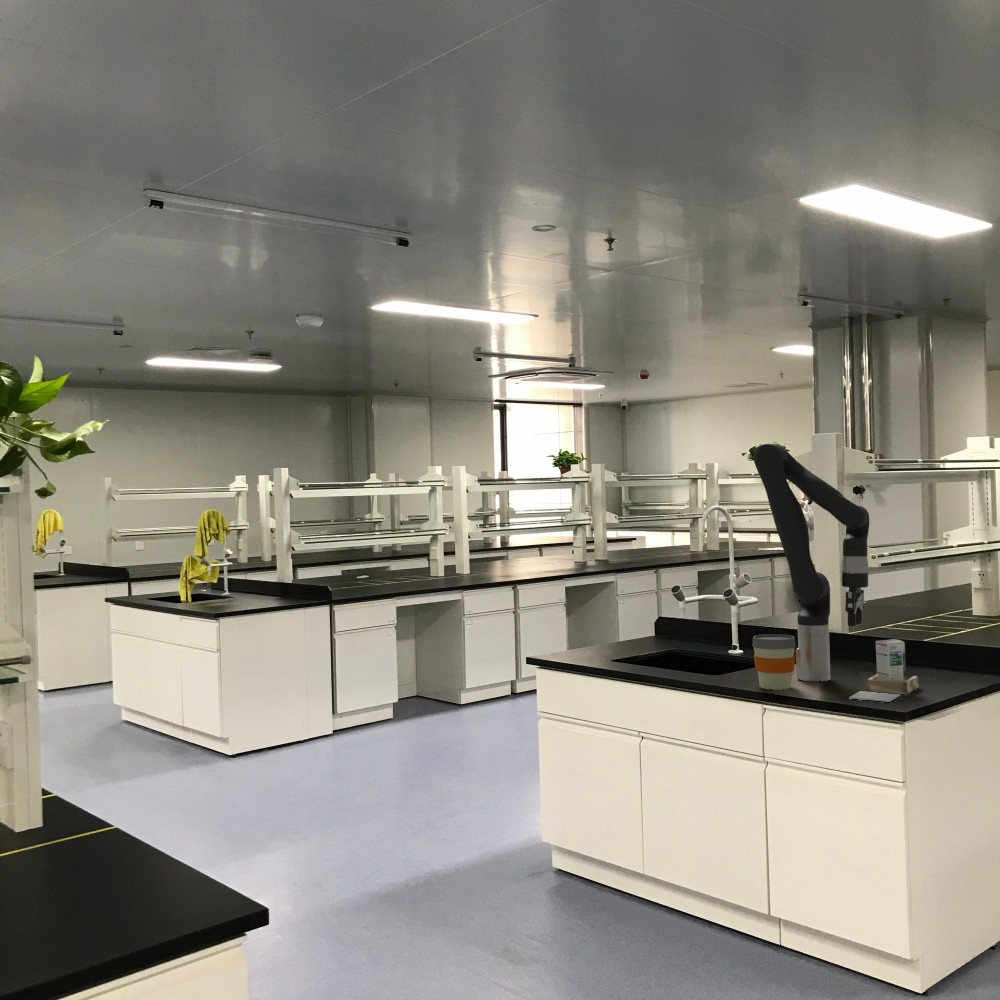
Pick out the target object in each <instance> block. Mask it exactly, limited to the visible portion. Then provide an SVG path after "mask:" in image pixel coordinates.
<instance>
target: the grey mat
mask: <svg viewBox="0 0 1000 1000" xmlns="http://www.w3.org/2000/svg"><path fill="white" fill-rule="evenodd" d="M899 696H900V697H901V695H900V694H888V693H877V692H867V691H866V690H865V691H862V690H860V691H858V692H856V693H854V694H853V695H850V696H849V698H848V699H849V700H852V699H858V700H857V701H862V700H874V701H885V702H891V701H892V700H894V699H896V698H897V697H899ZM900 697H899V698H900ZM897 699H898V698H897ZM897 699H896V700H897ZM894 701H895V700H894ZM891 703H892V702H891Z"/></svg>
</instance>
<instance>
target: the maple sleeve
mask: <svg viewBox="0 0 1000 1000" xmlns="http://www.w3.org/2000/svg"><path fill="white" fill-rule="evenodd" d="M865 681H866V684H865V687H866V692H867V691H874V692H888V693H889V692H890V693H898V694H908V693H910V692H911V691H913V690H914V689H916V688H918V689H919V676H918V675H913V676H911V677H909V678H908V679H906V681H905V682H895V681H882V680H877V674H874V675H873V676H870V677H869V678H867V679H866V680H865ZM916 690H917V689H916ZM914 691H915V690H914ZM914 691H913V692H914ZM911 693H912V692H911ZM911 693H910V694H911ZM908 695H909V694H908Z"/></svg>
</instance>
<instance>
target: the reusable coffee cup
mask: <svg viewBox="0 0 1000 1000" xmlns="http://www.w3.org/2000/svg"><path fill="white" fill-rule="evenodd" d="M752 647H753V652H754V655H753V661H754V665H755V666H754V667H755V671H756V672H757V675H758V676H757V677H758V683H759V688H760V687H761V689H763V688H764V689H765V690H769V689H773V690H772V691H774V690H775V691H783V689H784V690H789V689H791V687H792V679H793V672H794V671H795V664H796V655H795V650H796V649H795V648H797V647H796V638H795V636H793V635H789V634H775V633H774V634H773V633H771V634H768V633H767V634H757V635H753V637H752ZM764 689H763V690H764Z"/></svg>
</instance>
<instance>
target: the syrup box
mask: <svg viewBox="0 0 1000 1000" xmlns="http://www.w3.org/2000/svg"><path fill="white" fill-rule="evenodd" d="M905 644H906V643H905V641H903V640H901V639H893V638H892V639H884V640H883V639H882V640H876V641H875V656H876V675H877V680H882V681H895V682H905V681H906V680H907V669H906V668H907V667H906V665H907V664H906V648H905V647H906V645H905Z"/></svg>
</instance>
